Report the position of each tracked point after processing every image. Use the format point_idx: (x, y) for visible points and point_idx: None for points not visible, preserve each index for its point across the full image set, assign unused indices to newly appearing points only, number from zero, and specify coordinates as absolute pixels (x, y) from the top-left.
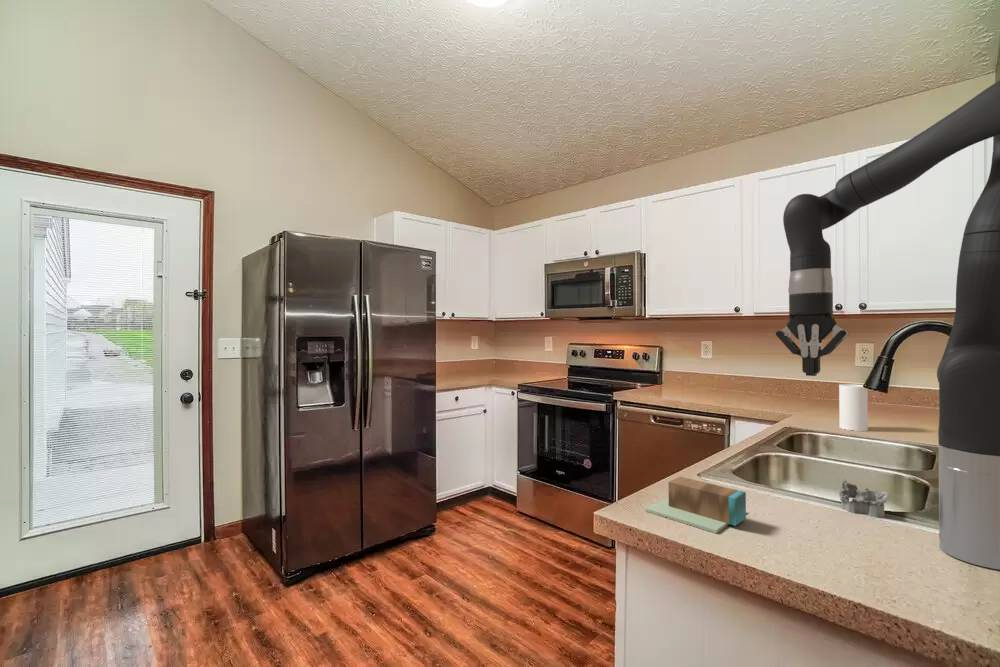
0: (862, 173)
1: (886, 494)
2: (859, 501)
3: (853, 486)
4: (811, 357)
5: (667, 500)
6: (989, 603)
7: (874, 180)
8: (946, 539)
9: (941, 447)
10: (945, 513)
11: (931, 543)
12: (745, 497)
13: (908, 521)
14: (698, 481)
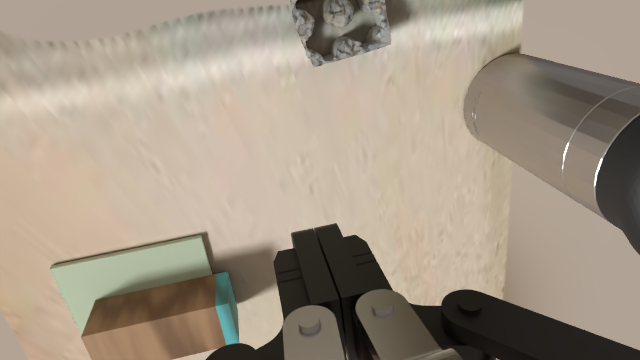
0: None
1: None
2: (342, 42)
3: None
4: (356, 352)
5: (85, 321)
6: (506, 238)
7: None
8: (484, 142)
9: (594, 204)
10: (508, 156)
11: (452, 103)
12: (228, 297)
13: (413, 11)
14: (130, 329)
